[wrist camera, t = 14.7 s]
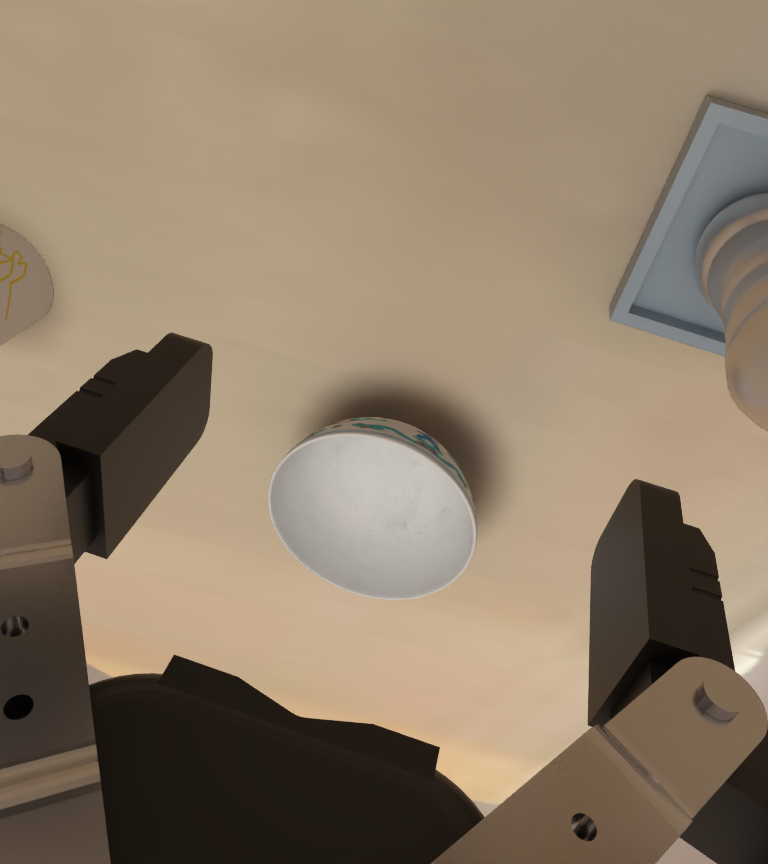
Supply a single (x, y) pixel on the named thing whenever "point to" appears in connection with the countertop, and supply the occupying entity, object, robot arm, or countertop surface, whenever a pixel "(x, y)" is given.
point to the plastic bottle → (740, 297)
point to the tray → (692, 225)
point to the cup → (21, 285)
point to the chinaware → (375, 509)
